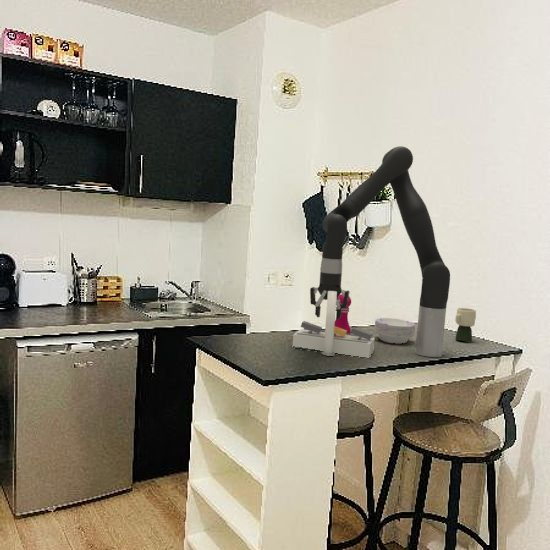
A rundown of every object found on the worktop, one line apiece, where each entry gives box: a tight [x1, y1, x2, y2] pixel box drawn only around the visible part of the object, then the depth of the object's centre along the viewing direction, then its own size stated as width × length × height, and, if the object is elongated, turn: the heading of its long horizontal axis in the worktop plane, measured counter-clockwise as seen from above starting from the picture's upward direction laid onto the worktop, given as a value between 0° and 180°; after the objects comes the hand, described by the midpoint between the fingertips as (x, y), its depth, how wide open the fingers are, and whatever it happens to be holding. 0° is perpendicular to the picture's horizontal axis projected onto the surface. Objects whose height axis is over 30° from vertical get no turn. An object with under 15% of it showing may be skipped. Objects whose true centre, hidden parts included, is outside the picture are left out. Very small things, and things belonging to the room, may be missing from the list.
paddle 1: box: [300, 320, 323, 333], centre depth 200 cm, size 7×3×2 cm, turn 72°
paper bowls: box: [374, 317, 416, 345], centre depth 217 cm, size 15×15×8 cm
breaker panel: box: [292, 328, 376, 359], centre depth 198 cm, size 27×11×6 cm, turn 72°
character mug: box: [455, 307, 477, 342], centre depth 224 cm, size 11×7×13 cm, turn 119°
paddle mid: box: [334, 326, 347, 337], centre depth 197 cm, size 7×3×2 cm, turn 72°
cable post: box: [321, 291, 337, 357], centre depth 189 cm, size 4×4×22 cm
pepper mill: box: [334, 289, 352, 334], centre depth 208 cm, size 7×7×20 cm
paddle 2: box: [350, 326, 373, 340], centre depth 194 cm, size 7×3×2 cm, turn 72°
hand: (327, 317), depth 198 cm, fingers open, 6 cm apart
